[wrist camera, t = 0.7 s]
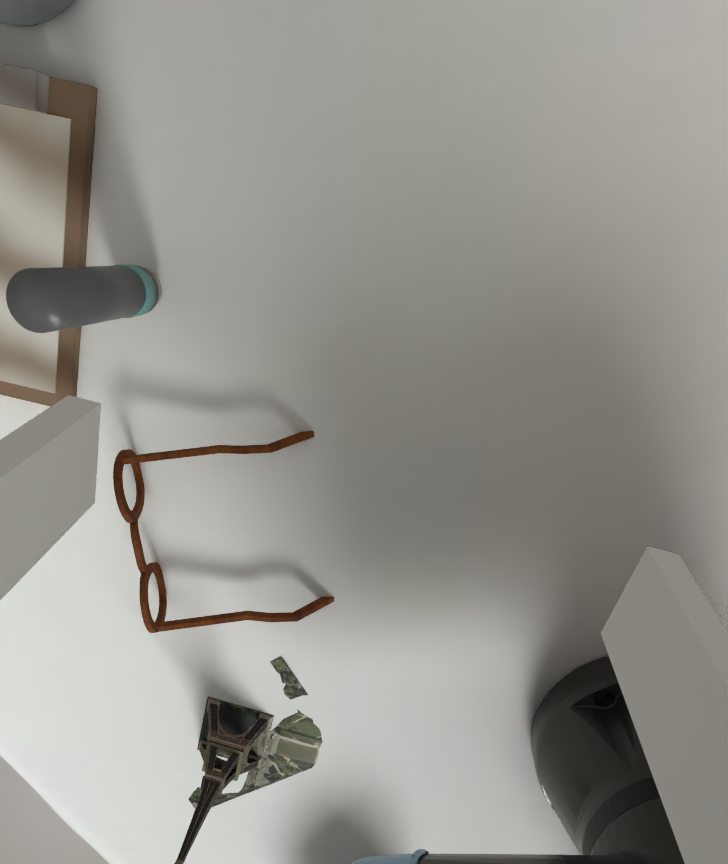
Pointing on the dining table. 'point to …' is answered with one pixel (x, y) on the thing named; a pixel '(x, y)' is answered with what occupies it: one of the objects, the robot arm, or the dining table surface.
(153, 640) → the dining table surface
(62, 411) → the robot arm
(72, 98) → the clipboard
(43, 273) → the marker
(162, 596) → the glasses
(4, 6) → the water bottle
